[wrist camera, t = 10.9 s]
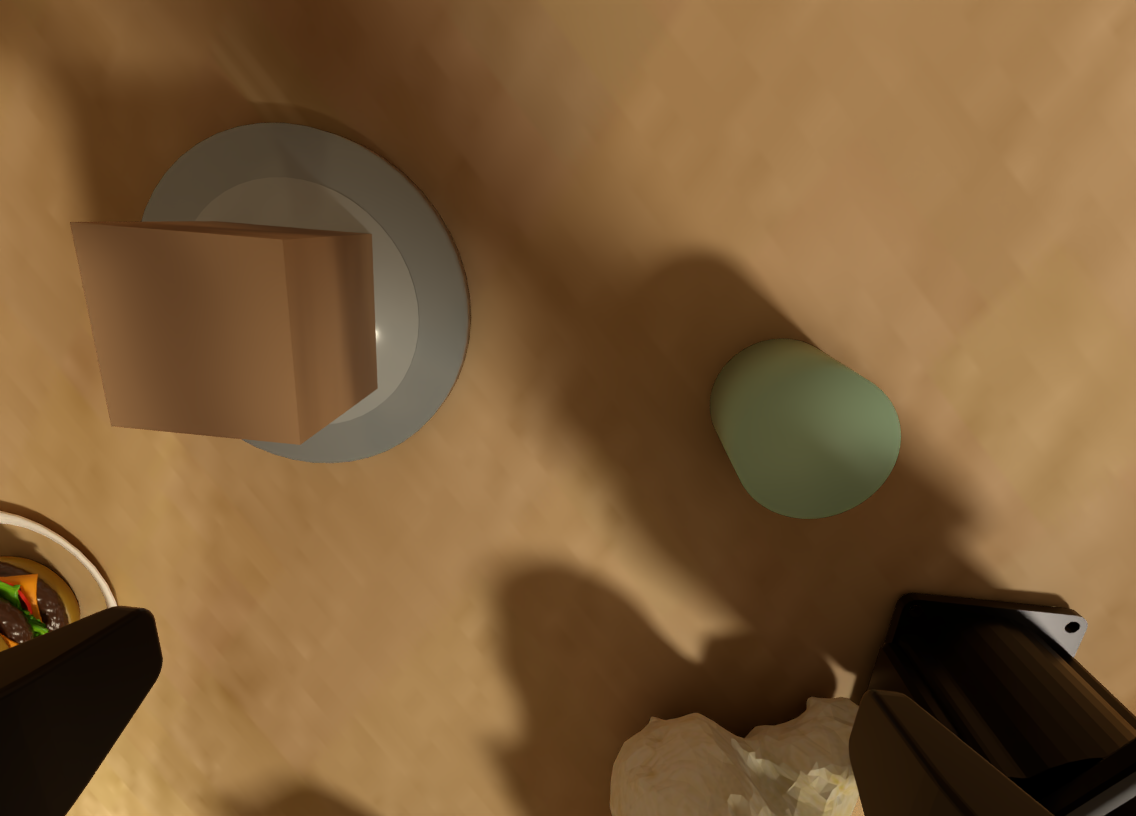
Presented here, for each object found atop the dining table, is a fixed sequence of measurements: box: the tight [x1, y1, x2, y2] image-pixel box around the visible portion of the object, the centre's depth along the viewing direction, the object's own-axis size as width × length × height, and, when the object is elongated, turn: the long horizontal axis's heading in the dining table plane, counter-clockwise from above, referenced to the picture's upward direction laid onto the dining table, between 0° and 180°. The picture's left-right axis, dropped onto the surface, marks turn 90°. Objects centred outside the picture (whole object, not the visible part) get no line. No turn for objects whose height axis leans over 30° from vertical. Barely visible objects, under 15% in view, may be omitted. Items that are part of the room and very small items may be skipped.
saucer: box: [141, 123, 471, 463], centre depth 19 cm, size 11×11×1 cm
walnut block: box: [70, 221, 378, 445], centre depth 16 cm, size 5×5×5 cm
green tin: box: [710, 339, 901, 519], centre depth 17 cm, size 4×4×4 cm
